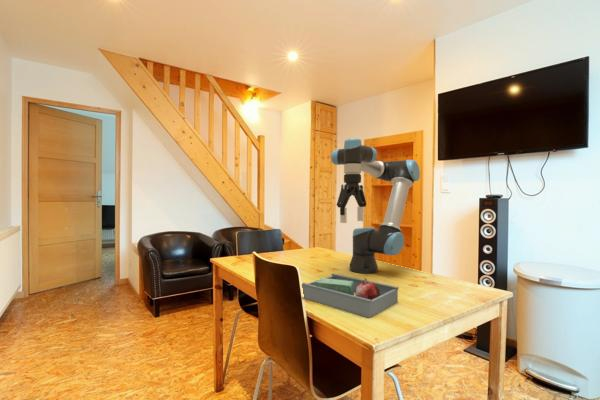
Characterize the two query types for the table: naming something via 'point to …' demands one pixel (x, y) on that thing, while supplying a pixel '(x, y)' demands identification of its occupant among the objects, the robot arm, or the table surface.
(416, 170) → the robot arm
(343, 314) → the table surface
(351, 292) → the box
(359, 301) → the tray
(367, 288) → the fruit
